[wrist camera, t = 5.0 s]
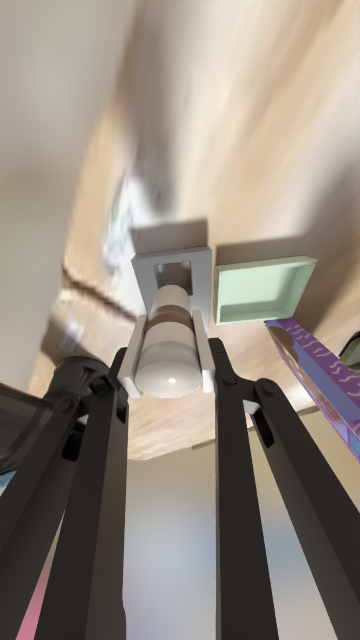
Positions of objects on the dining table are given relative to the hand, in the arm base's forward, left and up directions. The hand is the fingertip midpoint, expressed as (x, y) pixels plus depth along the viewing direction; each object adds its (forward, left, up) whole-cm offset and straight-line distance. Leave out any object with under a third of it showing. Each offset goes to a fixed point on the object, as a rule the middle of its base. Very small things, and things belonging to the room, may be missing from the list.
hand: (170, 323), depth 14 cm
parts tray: (+15, -5, -14) cm, 22 cm away
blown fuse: (0, 0, -5) cm, 5 cm away
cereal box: (+26, -20, -15) cm, 36 cm away
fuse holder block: (0, -4, -14) cm, 15 cm away
